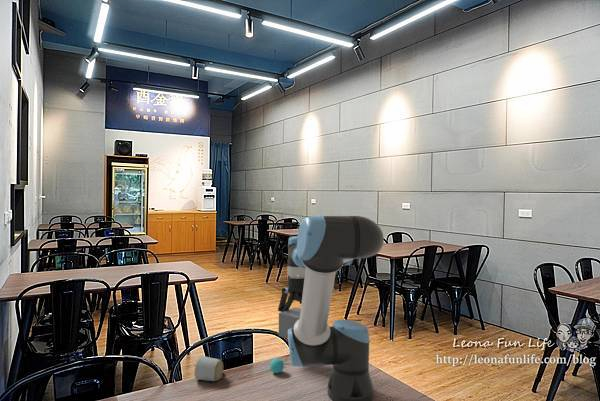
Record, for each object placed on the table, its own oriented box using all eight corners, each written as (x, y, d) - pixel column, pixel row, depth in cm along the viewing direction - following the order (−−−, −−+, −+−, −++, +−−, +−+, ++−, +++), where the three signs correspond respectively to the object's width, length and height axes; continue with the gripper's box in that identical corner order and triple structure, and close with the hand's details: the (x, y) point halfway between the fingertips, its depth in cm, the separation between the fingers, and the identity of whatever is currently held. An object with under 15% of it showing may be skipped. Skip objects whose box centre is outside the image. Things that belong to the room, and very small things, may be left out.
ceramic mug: (216, 385, 135) (216, 362, 135) (193, 383, 137) (194, 360, 137) (227, 372, 146) (227, 351, 146) (206, 370, 147) (206, 349, 147)
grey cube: (315, 334, 156) (315, 312, 156) (299, 342, 148) (299, 318, 148) (294, 328, 162) (294, 307, 162) (278, 335, 154) (278, 313, 154)
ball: (286, 372, 146) (286, 358, 146) (277, 377, 142) (277, 363, 142) (276, 368, 149) (276, 355, 149) (267, 373, 145) (267, 359, 145)
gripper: (327, 278, 150) (326, 337, 151) (281, 271, 164) (280, 324, 165) (316, 282, 144) (315, 342, 145) (269, 273, 158) (268, 329, 159)
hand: (297, 333), depth 155 cm, fingers closed on grey cube, 10 cm apart
